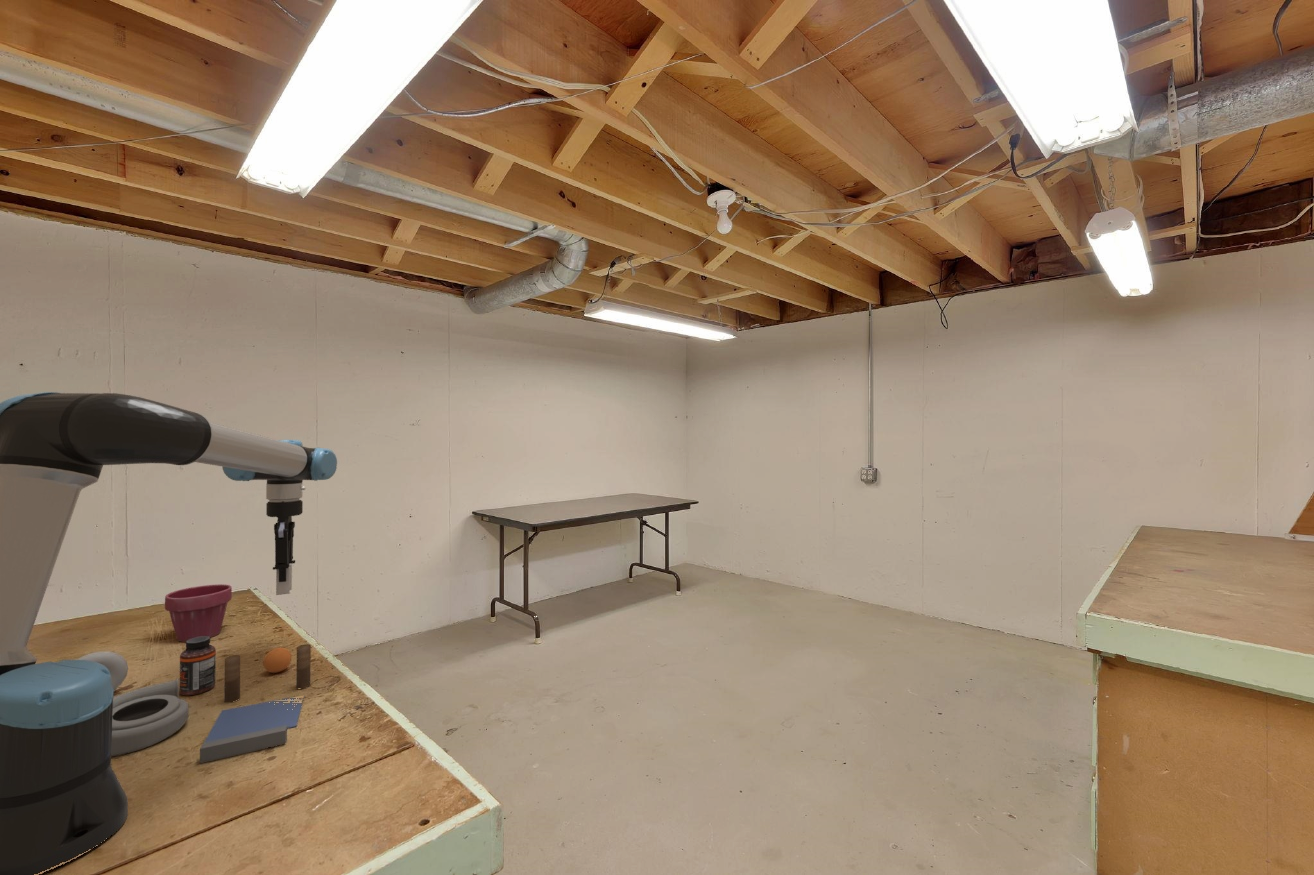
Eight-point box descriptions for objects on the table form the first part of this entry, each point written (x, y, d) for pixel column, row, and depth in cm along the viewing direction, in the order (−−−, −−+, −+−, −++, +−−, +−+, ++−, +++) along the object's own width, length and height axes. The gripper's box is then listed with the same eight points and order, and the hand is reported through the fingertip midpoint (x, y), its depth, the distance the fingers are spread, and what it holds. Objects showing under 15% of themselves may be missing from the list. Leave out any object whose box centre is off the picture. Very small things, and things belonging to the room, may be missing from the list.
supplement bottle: (174, 692, 114) (174, 640, 114) (207, 681, 119) (208, 632, 119) (186, 699, 111) (187, 646, 111) (220, 687, 116) (221, 636, 116)
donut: (58, 711, 106) (59, 661, 106) (59, 705, 108) (59, 657, 108) (128, 693, 113) (129, 647, 113) (127, 688, 116) (128, 643, 116)
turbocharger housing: (68, 779, 87) (189, 743, 97) (68, 741, 87) (189, 709, 97) (81, 730, 99) (187, 703, 110) (81, 697, 99) (187, 673, 109)
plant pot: (182, 629, 152) (183, 585, 152) (240, 624, 156) (240, 581, 156) (152, 648, 138) (152, 600, 138) (216, 642, 142) (216, 595, 142)
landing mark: (296, 726, 101) (296, 725, 101) (202, 746, 94) (202, 745, 94) (304, 695, 113) (304, 694, 113) (222, 711, 106) (222, 710, 106)
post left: (238, 701, 110) (238, 658, 110) (222, 703, 109) (223, 660, 109) (241, 695, 113) (241, 653, 113) (225, 698, 111) (226, 656, 111)
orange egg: (289, 673, 123) (290, 650, 123) (261, 678, 121) (261, 654, 121) (293, 664, 128) (293, 642, 128) (265, 669, 126) (265, 646, 126)
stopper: (285, 744, 95) (285, 730, 95) (199, 763, 89) (199, 748, 89) (286, 738, 97) (287, 725, 97) (203, 757, 91) (203, 742, 91)
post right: (309, 687, 116) (310, 647, 116) (295, 690, 115) (295, 649, 115) (310, 682, 119) (311, 643, 119) (297, 685, 117) (297, 645, 118)
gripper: (298, 502, 128) (297, 598, 128) (306, 496, 142) (305, 582, 142) (260, 504, 124) (259, 602, 124) (272, 497, 138) (271, 586, 138)
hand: (284, 591), depth 133 cm, fingers open, 3 cm apart
